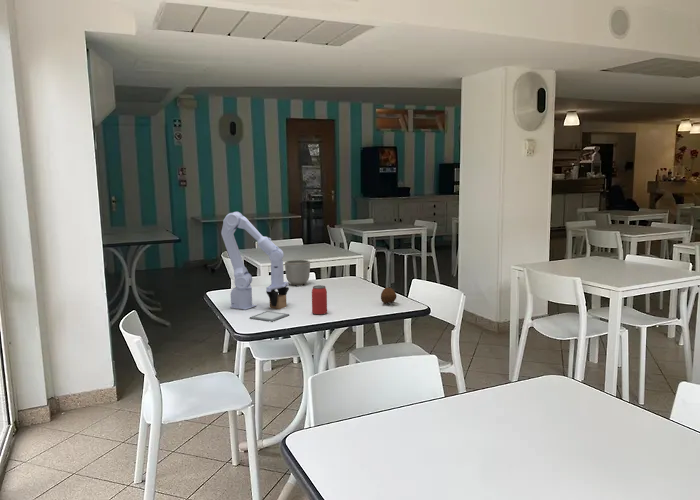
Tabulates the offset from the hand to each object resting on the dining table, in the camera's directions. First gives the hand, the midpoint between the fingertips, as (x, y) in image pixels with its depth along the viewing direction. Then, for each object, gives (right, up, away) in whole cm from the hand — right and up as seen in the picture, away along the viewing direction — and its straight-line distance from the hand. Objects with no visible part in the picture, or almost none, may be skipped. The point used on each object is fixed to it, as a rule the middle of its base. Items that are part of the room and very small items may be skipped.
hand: (278, 304), depth 253 cm
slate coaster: (-1, -4, -17) cm, 18 cm away
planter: (+4, +6, +52) cm, 52 cm away
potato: (+51, -1, +4) cm, 51 cm away
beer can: (+20, -3, -11) cm, 23 cm away
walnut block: (0, -2, 0) cm, 2 cm away
